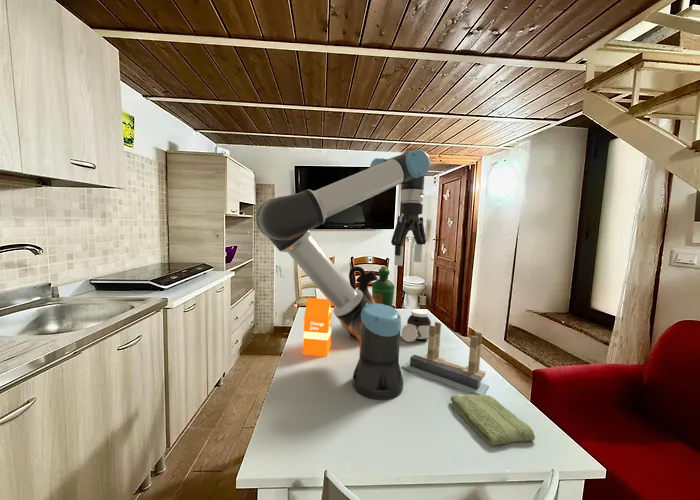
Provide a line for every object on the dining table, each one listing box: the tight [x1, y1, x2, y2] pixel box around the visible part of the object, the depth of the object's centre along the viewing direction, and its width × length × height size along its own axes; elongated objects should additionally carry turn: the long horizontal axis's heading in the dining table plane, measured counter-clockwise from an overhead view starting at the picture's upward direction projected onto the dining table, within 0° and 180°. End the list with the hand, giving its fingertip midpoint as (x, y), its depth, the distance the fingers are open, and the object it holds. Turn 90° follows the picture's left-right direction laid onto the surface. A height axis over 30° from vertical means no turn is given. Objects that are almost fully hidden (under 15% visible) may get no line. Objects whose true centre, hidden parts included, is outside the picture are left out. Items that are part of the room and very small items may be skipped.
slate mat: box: [401, 360, 490, 395], centre depth 97 cm, size 7×26×1 cm, turn 52°
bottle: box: [371, 265, 395, 307], centre depth 145 cm, size 11×11×28 cm
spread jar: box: [400, 308, 432, 343], centre depth 128 cm, size 12×11×12 cm
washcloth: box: [450, 393, 536, 447], centre depth 76 cm, size 13×18×3 cm
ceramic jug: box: [346, 265, 379, 342], centre depth 127 cm, size 17×15×30 cm
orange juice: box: [302, 297, 333, 357], centre depth 112 cm, size 8×9×20 cm
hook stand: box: [422, 321, 487, 381], centre depth 103 cm, size 6×20×14 cm, turn 52°
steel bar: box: [409, 354, 482, 390], centre depth 97 cm, size 3×22×3 cm, turn 52°
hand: (408, 263), depth 107 cm, fingers open, 13 cm apart
